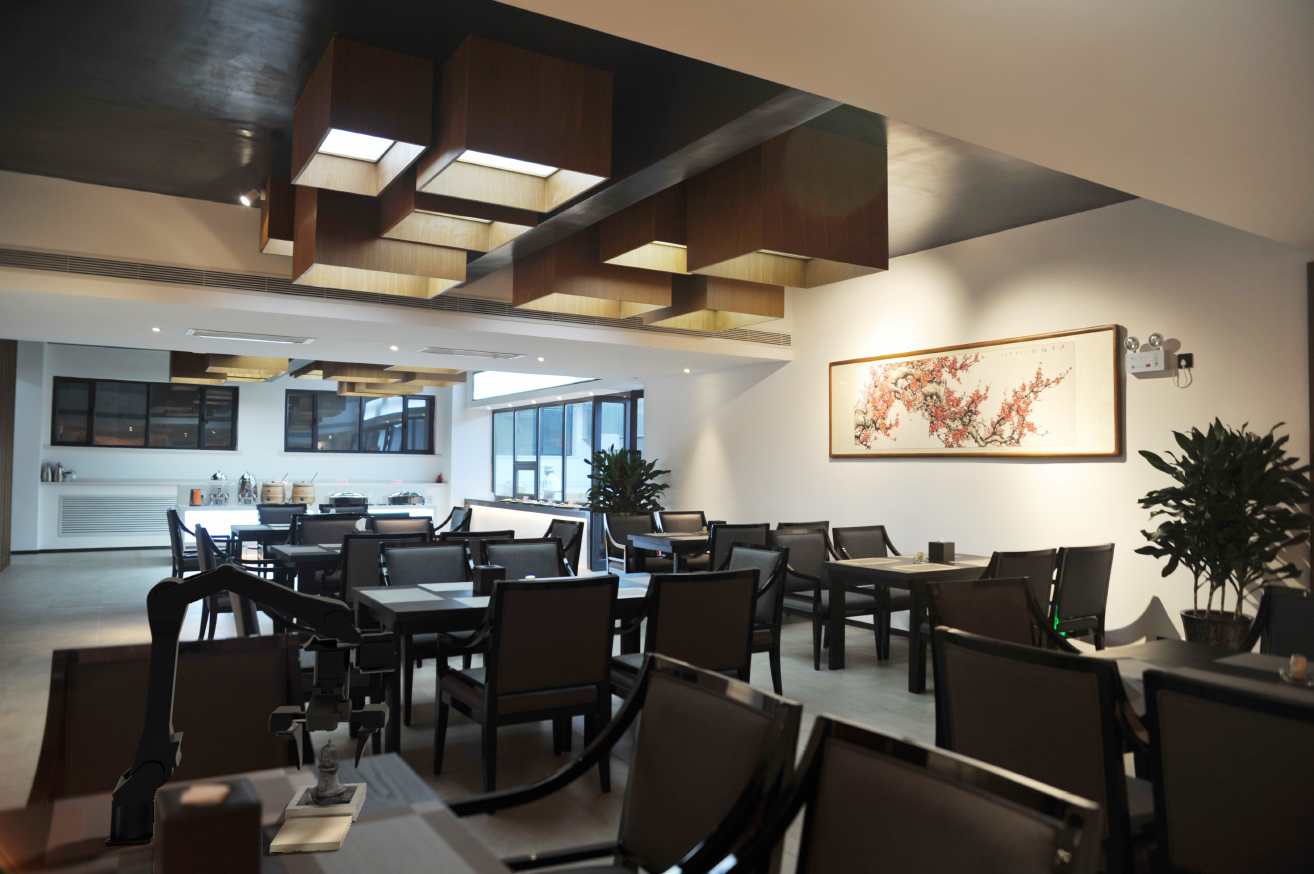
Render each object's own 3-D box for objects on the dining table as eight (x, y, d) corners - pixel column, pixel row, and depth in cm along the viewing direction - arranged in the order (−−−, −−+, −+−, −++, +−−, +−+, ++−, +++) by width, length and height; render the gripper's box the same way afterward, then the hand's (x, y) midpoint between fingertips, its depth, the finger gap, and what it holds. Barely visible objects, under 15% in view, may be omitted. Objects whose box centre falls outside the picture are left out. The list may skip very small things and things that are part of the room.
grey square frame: (284, 824, 138) (285, 809, 138) (300, 799, 148) (301, 785, 149) (355, 821, 140) (355, 805, 140) (366, 797, 150) (366, 782, 150)
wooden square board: (269, 852, 127) (270, 844, 128) (286, 826, 137) (287, 818, 137) (339, 849, 129) (339, 841, 129) (351, 822, 139) (351, 815, 139)
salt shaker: (332, 818, 141) (335, 745, 141) (301, 815, 142) (303, 742, 142) (352, 805, 146) (355, 734, 147) (321, 802, 148) (324, 732, 148)
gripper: (260, 687, 136) (255, 787, 135) (381, 685, 139) (378, 782, 138) (278, 672, 147) (274, 764, 146) (391, 670, 150) (387, 760, 149)
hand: (328, 768), depth 144 cm, fingers open, 9 cm apart
